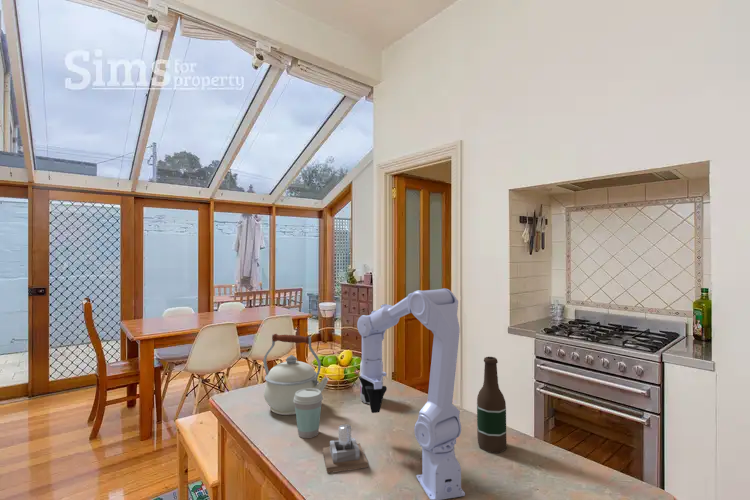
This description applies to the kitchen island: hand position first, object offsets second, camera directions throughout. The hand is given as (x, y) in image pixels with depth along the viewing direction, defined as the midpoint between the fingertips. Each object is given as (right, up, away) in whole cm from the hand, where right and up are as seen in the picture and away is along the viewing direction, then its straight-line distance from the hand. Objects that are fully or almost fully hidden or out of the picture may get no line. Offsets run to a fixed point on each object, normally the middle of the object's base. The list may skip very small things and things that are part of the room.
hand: (372, 406), depth 107 cm
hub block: (-7, -10, -9) cm, 15 cm away
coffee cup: (-19, -10, +6) cm, 22 cm away
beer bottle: (+32, -10, -3) cm, 34 cm away
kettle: (-27, -11, +25) cm, 38 cm away
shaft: (-7, -9, -9) cm, 14 cm away
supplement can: (0, -11, +32) cm, 33 cm away
